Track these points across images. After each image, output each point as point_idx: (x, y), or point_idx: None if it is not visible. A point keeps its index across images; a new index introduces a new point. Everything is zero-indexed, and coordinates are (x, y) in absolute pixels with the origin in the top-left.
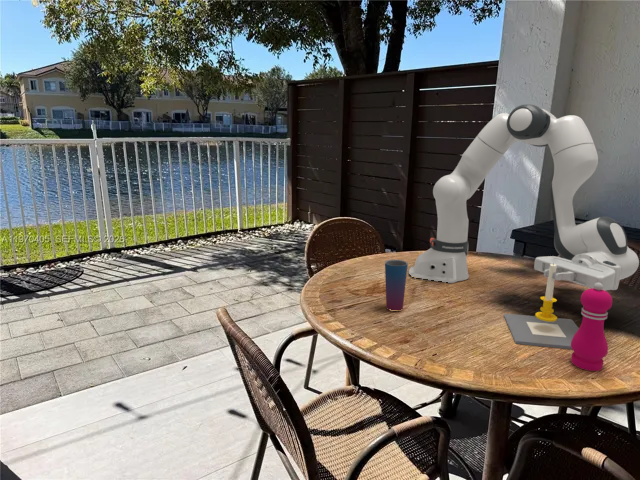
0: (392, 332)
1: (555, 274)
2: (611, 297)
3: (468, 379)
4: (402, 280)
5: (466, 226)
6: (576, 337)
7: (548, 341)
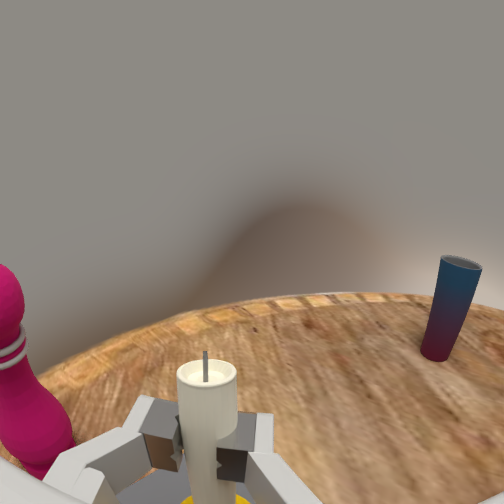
0: (342, 325)
1: (161, 401)
2: None
3: (178, 322)
4: (439, 294)
5: None
6: (51, 394)
7: (153, 490)
